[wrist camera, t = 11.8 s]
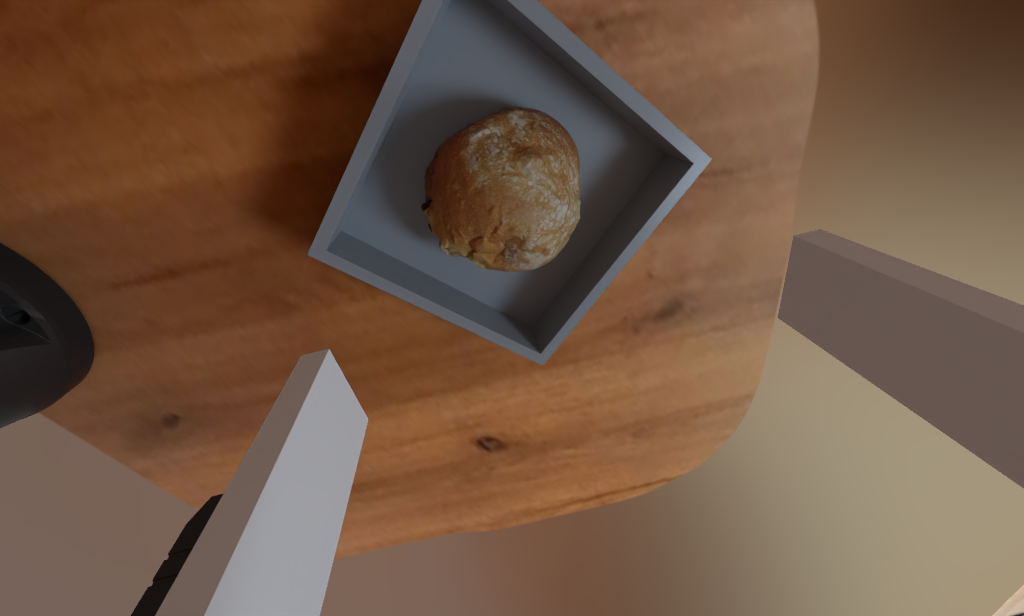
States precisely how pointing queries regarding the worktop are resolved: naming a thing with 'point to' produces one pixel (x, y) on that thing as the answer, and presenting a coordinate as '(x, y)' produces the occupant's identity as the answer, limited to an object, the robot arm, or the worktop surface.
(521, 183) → the bread roll
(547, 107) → the bread tray
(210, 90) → the worktop surface
